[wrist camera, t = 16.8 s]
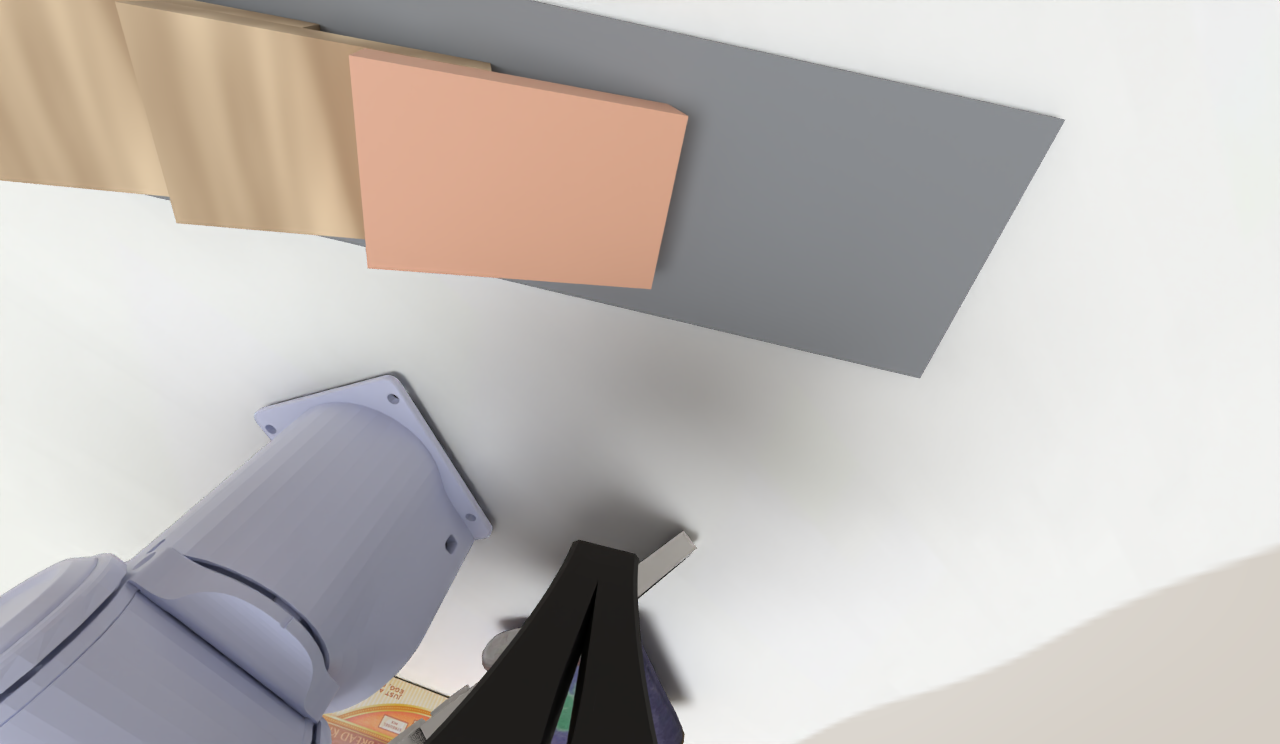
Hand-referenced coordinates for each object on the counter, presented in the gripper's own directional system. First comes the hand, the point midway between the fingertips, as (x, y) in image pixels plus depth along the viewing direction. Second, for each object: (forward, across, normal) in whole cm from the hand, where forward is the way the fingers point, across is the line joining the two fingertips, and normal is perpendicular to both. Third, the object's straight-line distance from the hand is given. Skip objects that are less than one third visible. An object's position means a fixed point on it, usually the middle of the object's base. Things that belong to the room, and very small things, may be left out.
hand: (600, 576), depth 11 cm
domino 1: (+9, +12, -6) cm, 16 cm away
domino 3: (+9, +1, -6) cm, 11 cm away
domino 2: (+9, +6, -6) cm, 13 cm away
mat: (+10, +8, -6) cm, 14 cm away
